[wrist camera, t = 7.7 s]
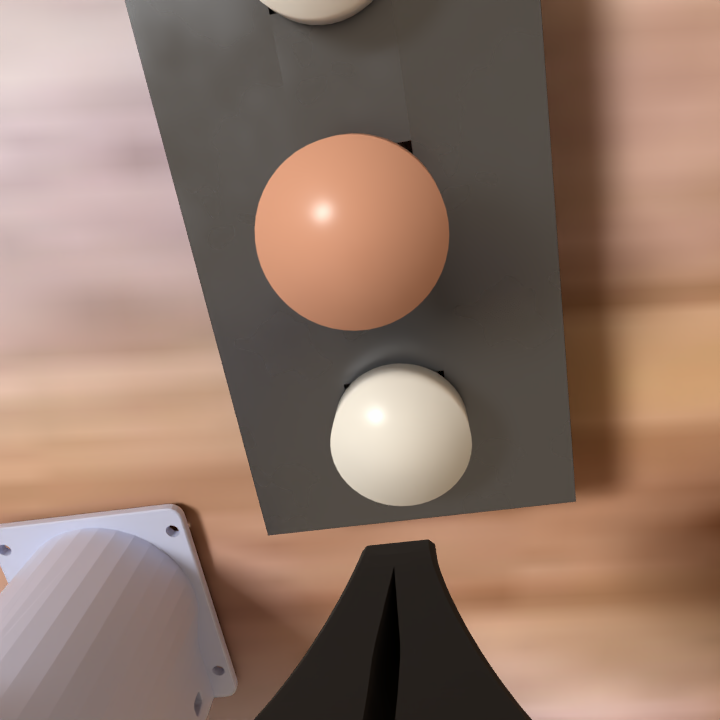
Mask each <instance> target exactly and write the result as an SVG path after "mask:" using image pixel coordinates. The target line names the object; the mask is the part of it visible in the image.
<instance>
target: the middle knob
mask: <svg viewBox="0 0 720 720" xmlns="http://www.w3.org/2000/svg"><path fill="white" fill-rule="evenodd" d="M255 243H256V249H257V255H258V258H259V261H260V265H261V267H262V269H263V272H264V274H265V276H266V278H267V280H268V281H269V283H270V285H271V286H272V288H273V289H274V291H275V292H276V293H277V294H278V296H279V297H280V298H281V299H282V300H283V301H284V302H285V303H286V304H287V305H288V306H289V307H290V308H292V309H293V310H294V311H296V312H297V313H298V314H300V315H301V316H303V317H305V318H307V319H308V320H310V321H313V322H315V323H317V324H319V325H322V326H326V327H329V328H333V329H339V330H350V331H358V330H369V329H373V328H378V327H381V326H384V325H387V324H390V323H392V322H394V321H396V320H398V319H400V318H402V317H404V316H405V315H407V314H408V313H410V312H411V311H412V310H414V309H415V308H416V307H417V306H418V305H419V304H420V303H421V302H422V301H423V300H424V299H425V298H426V297H427V296H428V294H429V293H430V292H431V290H432V289H433V287H434V286H435V284H436V283H437V281H438V279H439V277H440V275H441V273H442V270H443V267H444V264H445V261H446V257H447V252H448V246H449V222H448V217H447V212H446V208H445V205H444V202H443V199H442V196H441V194H440V191H439V189H438V187H437V185H436V183H435V181H434V179H433V177H432V176H431V174H430V173H429V171H428V170H427V168H426V167H425V166H424V165H423V164H422V163H421V162H420V160H419V159H418V158H417V157H415V156H414V155H413V154H412V153H411V152H410V151H408V150H407V149H405V148H404V147H402V146H401V145H399V144H397V143H395V142H393V141H391V140H388V139H386V138H383V137H379V136H376V135H370V134H364V133H347V134H339V135H335V136H331V137H327V138H324V139H321V140H318V141H316V142H313V143H311V144H309V145H307V146H305V147H303V148H301V149H300V150H298V151H296V152H295V153H294V154H293V155H291V156H290V157H289V158H287V159H286V160H285V161H284V162H283V163H282V164H281V165H280V166H279V168H278V169H277V170H276V171H275V173H274V174H273V175H272V177H271V178H270V179H269V181H268V183H267V185H266V187H265V189H264V191H263V193H262V196H261V198H260V201H259V204H258V208H257V213H256V219H255Z"/></svg>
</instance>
